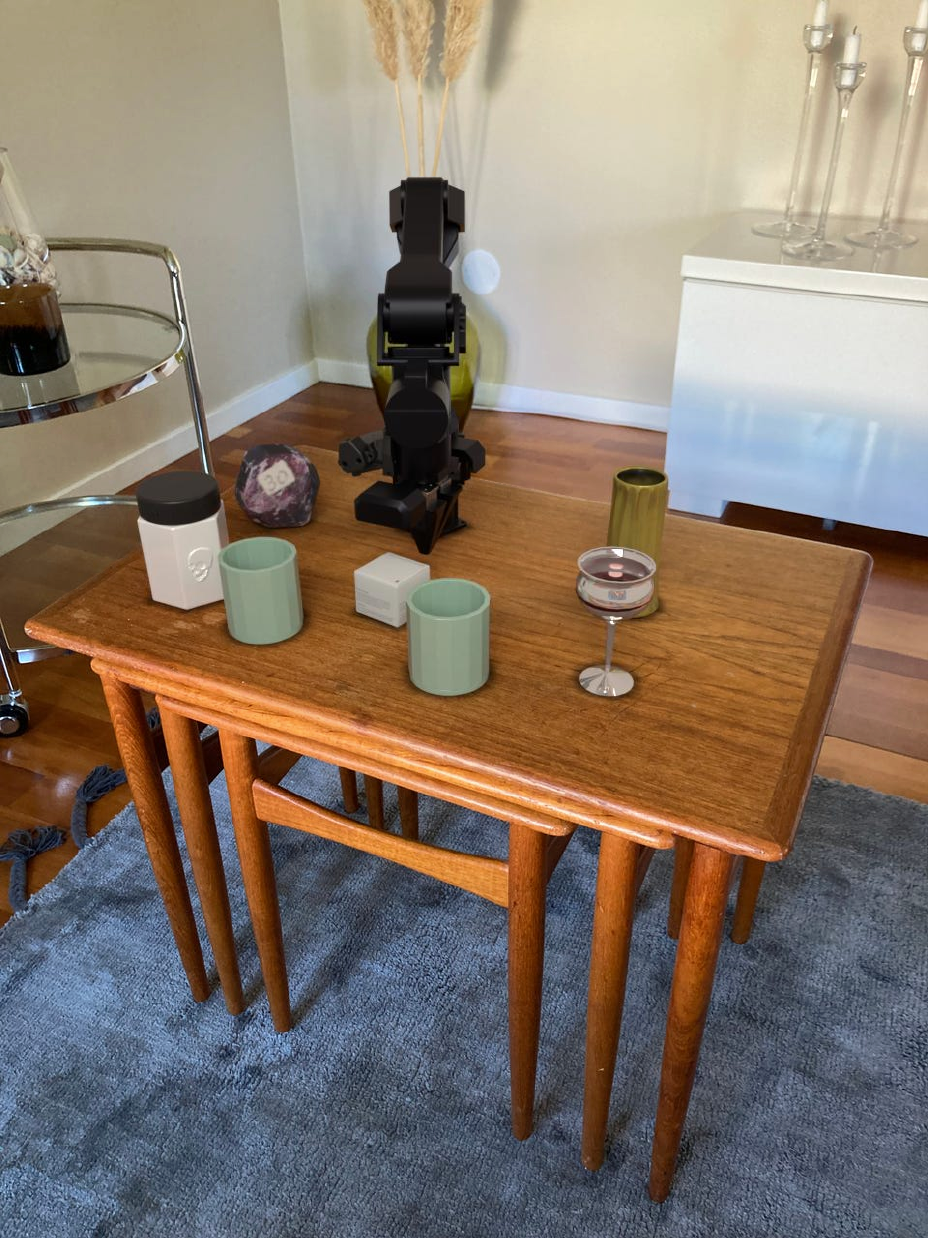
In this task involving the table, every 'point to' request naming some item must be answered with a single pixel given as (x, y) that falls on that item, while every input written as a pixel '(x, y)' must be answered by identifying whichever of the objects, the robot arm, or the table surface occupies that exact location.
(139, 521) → the jar
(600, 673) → the wineglass
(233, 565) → the cup
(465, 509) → the table surface
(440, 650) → the cup
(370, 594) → the small box
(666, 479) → the vase
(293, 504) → the mineral specimen
